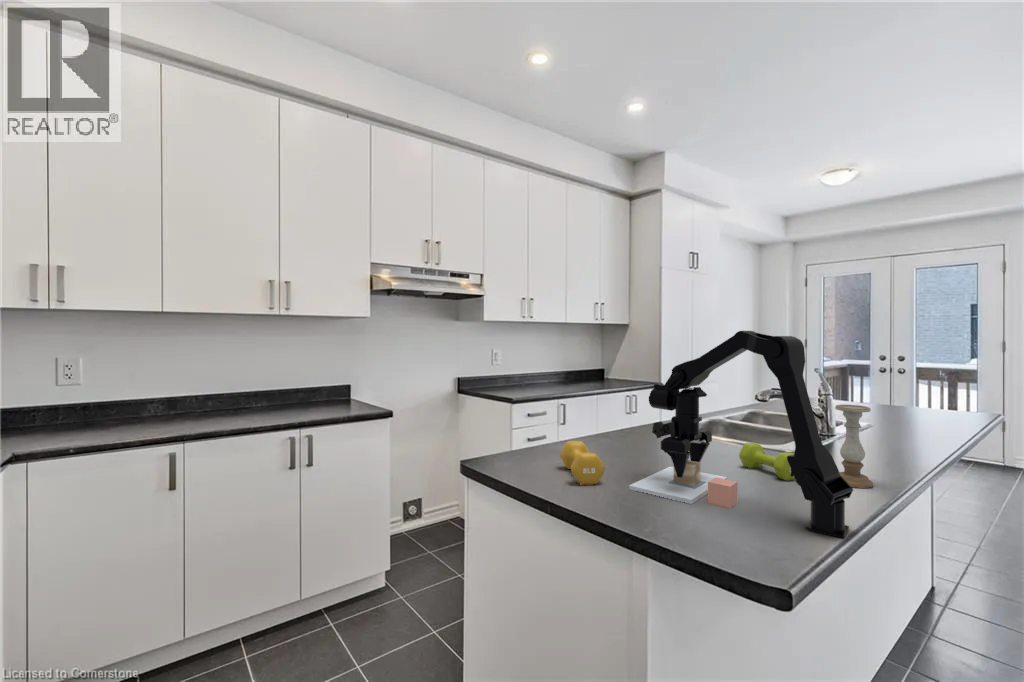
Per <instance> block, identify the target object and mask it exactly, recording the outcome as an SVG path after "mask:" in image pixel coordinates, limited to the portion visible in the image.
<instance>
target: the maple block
mask: <svg viewBox="0 0 1024 682" xmlns="http://www.w3.org/2000/svg"><path fill="white" fill-rule="evenodd" d="M701 472H702V471H701V461H700V462H694V461H691V460H689V459H688V461H687V464H686V468H685V471H684V473H683V476H682V477H681V478H680V477H677V474H676V471H675V468H674V482H675V483H679V484H684V485H689V486H694V485H696V484H698V483H699V482H701Z"/></svg>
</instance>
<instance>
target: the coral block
mask: <svg viewBox="0 0 1024 682" xmlns="http://www.w3.org/2000/svg"><path fill="white" fill-rule="evenodd" d="M738 483H739V482H738V481H737V480H730V479H728V478H727V479H722V478H714V479H712V480H710V481H709V482H708V494H707V503H708V504H710V505H714V504H715V505H714V506H718V505H719V507H723V508H727V509H728V508H729V509H731V508H733V507H734V506H735V505H736V504H737V502H739V500H738V499H739V498H738V495H739V494H738V488H739V487H738V485H739V484H738Z"/></svg>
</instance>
